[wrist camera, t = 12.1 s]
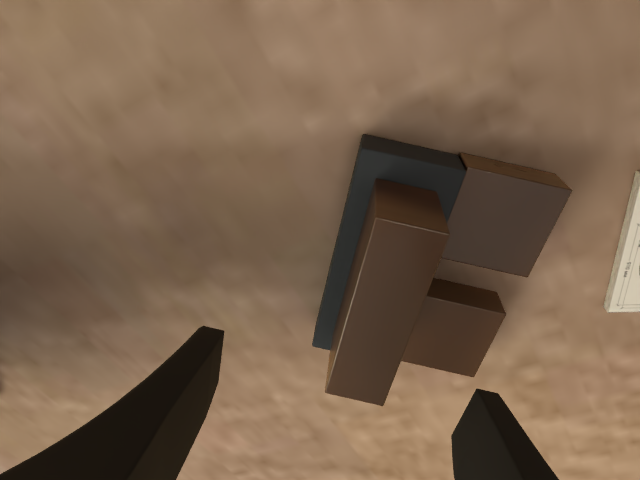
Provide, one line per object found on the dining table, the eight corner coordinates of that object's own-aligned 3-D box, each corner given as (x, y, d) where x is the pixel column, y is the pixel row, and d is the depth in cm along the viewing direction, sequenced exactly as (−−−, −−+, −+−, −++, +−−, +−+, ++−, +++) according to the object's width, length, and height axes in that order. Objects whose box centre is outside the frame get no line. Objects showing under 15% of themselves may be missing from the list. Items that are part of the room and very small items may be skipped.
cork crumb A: (392, 335, 23) (393, 359, 21) (414, 272, 21) (418, 294, 19) (467, 352, 23) (474, 377, 21) (496, 290, 21) (506, 314, 19)
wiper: (316, 320, 23) (300, 405, 18) (362, 133, 18) (357, 181, 13) (392, 337, 23) (396, 427, 18) (458, 154, 18) (488, 211, 13)
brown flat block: (428, 236, 20) (433, 256, 18) (459, 152, 18) (467, 166, 16) (515, 256, 20) (527, 277, 18) (555, 173, 18) (573, 190, 16)
